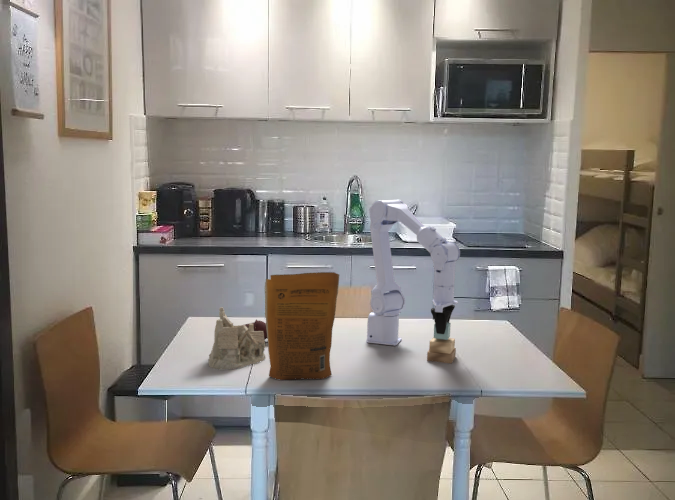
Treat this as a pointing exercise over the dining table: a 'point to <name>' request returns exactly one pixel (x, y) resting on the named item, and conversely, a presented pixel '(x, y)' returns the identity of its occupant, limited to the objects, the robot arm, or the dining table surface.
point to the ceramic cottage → (235, 345)
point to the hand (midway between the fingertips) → (442, 331)
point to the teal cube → (446, 334)
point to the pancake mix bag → (300, 324)
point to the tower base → (441, 356)
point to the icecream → (259, 327)
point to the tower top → (442, 345)
